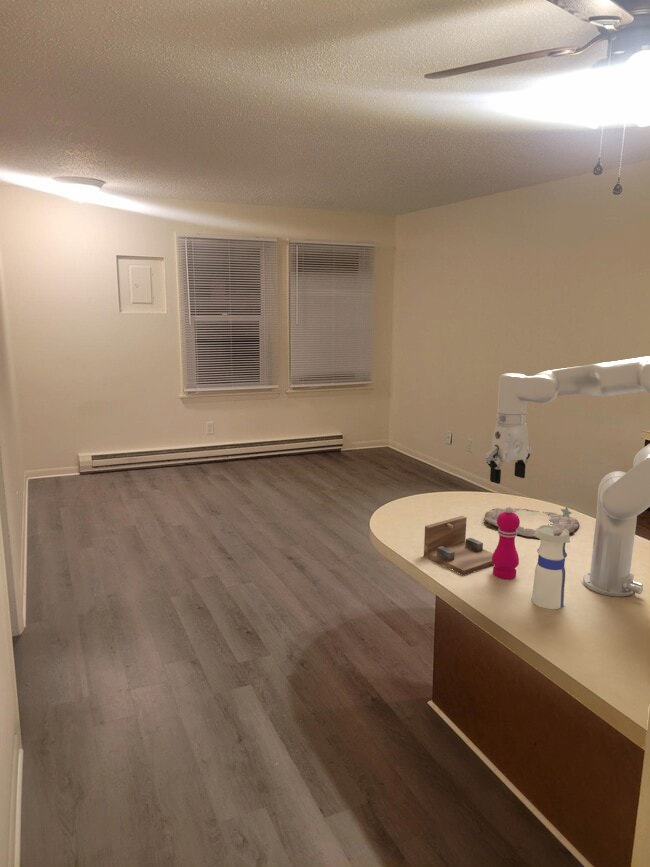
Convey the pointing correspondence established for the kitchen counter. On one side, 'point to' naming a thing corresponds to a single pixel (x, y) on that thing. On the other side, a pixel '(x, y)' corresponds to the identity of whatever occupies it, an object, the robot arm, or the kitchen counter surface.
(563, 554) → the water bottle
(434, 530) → the pegged stand
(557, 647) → the kitchen counter surface
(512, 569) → the pepper mill
